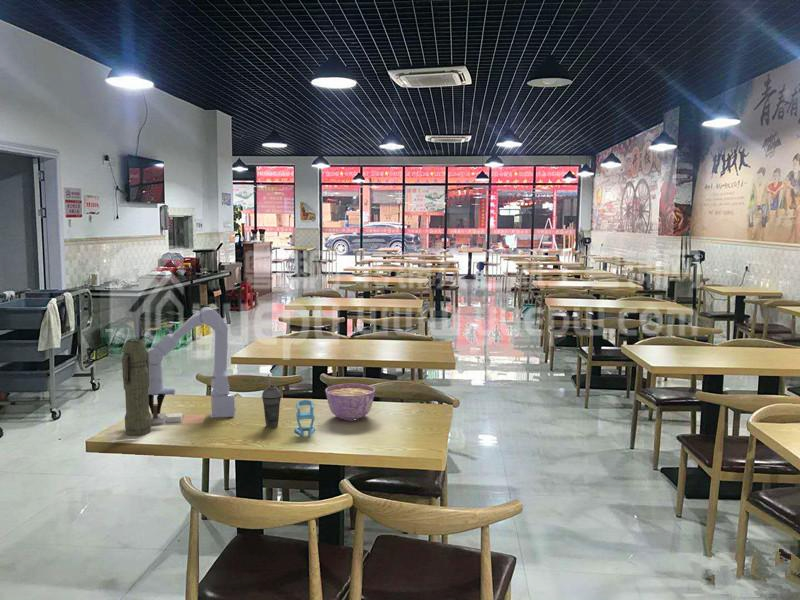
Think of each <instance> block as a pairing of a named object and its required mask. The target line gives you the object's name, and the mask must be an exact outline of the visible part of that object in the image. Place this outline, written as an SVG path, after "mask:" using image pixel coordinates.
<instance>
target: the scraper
mask: <svg viewBox="0 0 800 600" xmlns="http://www.w3.org/2000/svg"><path fill="white" fill-rule="evenodd" d="M150 414H151V425H153V424H163V423H164V420H165V418H166V415H167V414H166V412H160V414H158V403H154V405H153V414H152V413H150Z"/></svg>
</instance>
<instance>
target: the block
mask: <svg viewBox="0 0 800 600" xmlns="http://www.w3.org/2000/svg"><path fill="white" fill-rule="evenodd" d="M182 415H183V413H182V412H178V413H175V412H174V413H168V414H167V416H168V417H167V422H181V420H182Z"/></svg>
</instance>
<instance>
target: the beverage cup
mask: <svg viewBox="0 0 800 600" xmlns="http://www.w3.org/2000/svg"><path fill="white" fill-rule="evenodd" d="M267 381H268V385H267V387H266V388H265V389H264V390H263V391H262V395H261V399H262V403H263V410H264V411H263V412H264V420H265V422H264V423H265V427H266V428H269V429H273V428H276V427H278V426H279V418H280V405H281V404H280V403H281V399H282V395H281V390H280V389H279V388H278V387H277V386H275V385H271V382H270V374H267Z"/></svg>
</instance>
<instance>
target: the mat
mask: <svg viewBox="0 0 800 600" xmlns="http://www.w3.org/2000/svg"><path fill="white" fill-rule="evenodd" d="M167 417H168V415H167V416H166V418H165V420H164V423H163V424H153V425H151V427H156V426H157V427H159V426H176V425H177V426H178V425H194V424H196V425H197V424H204V421H205V417H206V414H205V413H204V414H201V413H200V414H182V420H181V422H167Z"/></svg>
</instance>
